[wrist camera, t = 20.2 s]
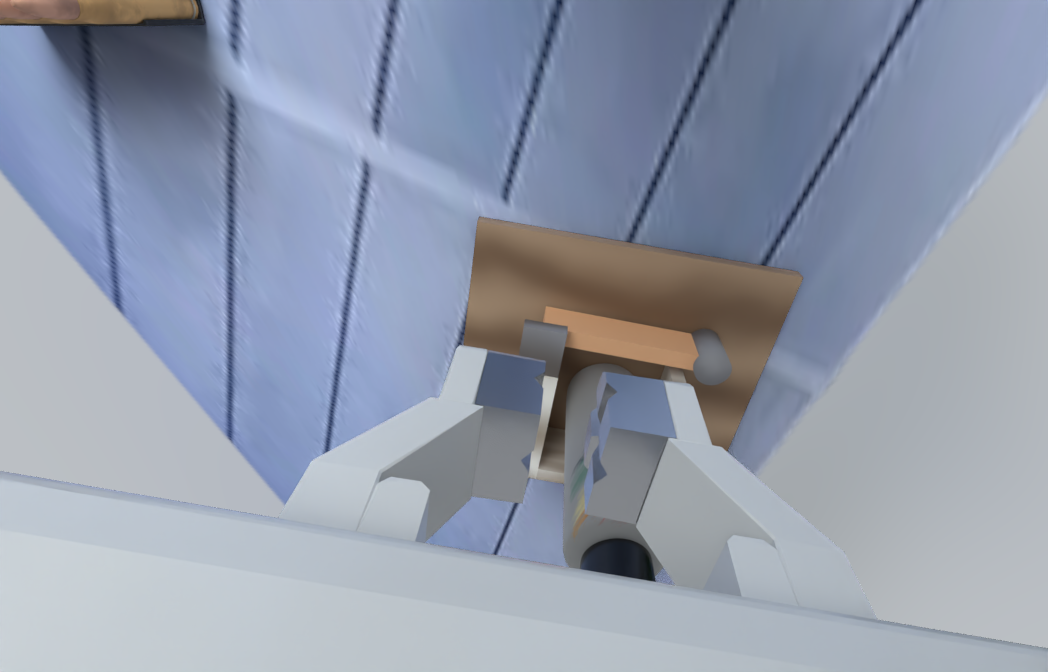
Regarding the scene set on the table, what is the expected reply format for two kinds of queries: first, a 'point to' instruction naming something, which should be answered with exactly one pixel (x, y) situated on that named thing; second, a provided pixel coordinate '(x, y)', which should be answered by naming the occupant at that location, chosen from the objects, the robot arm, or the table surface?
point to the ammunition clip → (101, 12)
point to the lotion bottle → (584, 535)
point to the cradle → (620, 315)
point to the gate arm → (646, 343)
